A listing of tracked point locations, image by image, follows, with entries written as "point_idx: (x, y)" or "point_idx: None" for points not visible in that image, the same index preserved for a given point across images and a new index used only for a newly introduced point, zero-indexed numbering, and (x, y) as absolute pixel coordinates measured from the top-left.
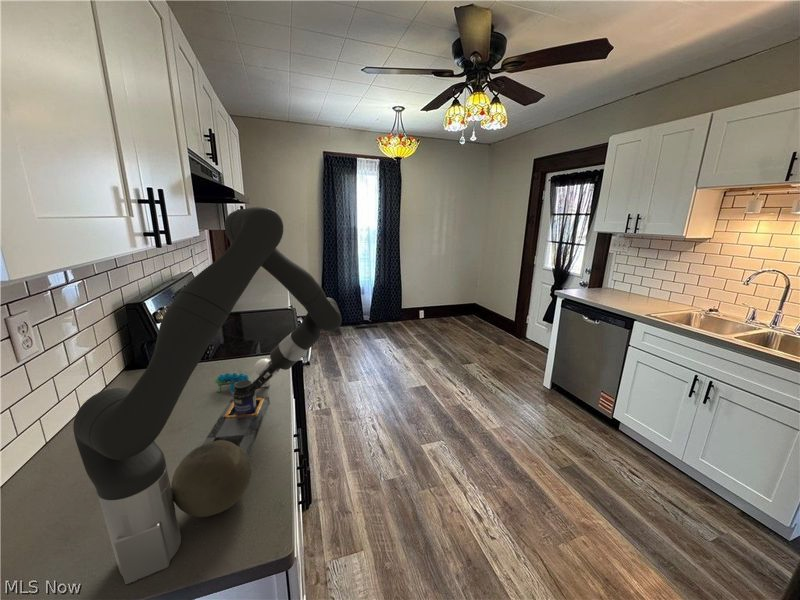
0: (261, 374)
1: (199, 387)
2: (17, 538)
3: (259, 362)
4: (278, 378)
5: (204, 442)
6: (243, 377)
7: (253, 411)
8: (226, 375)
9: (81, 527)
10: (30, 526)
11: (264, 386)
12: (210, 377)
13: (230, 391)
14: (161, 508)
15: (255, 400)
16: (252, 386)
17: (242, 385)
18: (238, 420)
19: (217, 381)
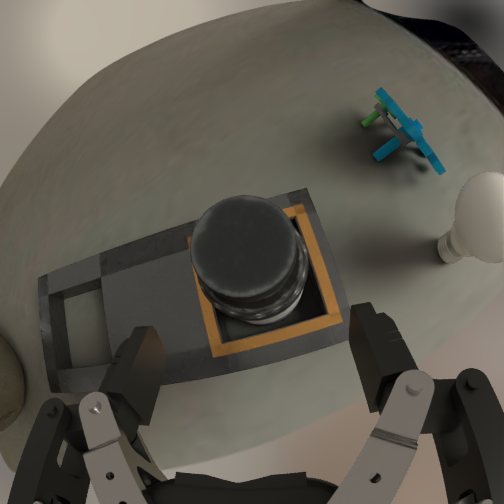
0: (15, 489)
1: (360, 78)
2: (20, 160)
3: (495, 189)
4: (492, 265)
5: (85, 261)
6: (430, 157)
7: (250, 323)
8: (385, 103)
9: (11, 207)
10: (27, 155)
11: (438, 250)
12: (407, 80)
13: (374, 152)
14: None
15: (274, 319)
16: (107, 381)
17: (218, 253)
18: (177, 301)
19: (379, 97)
